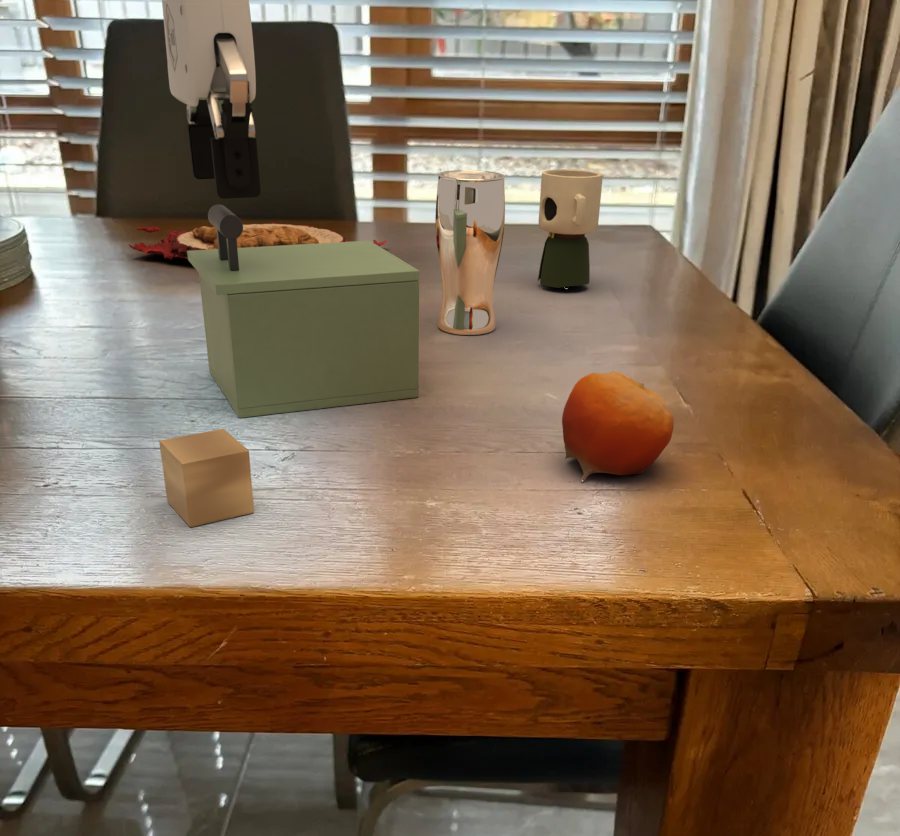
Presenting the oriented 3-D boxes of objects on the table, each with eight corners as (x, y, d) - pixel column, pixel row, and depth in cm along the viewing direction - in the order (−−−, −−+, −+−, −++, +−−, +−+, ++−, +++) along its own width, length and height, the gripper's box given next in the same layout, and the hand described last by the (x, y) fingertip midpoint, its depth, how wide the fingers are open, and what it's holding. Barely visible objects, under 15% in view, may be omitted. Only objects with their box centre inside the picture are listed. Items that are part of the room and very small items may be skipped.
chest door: (216, 295, 74) (209, 225, 71) (188, 260, 84) (181, 197, 81) (419, 280, 79) (420, 215, 77) (370, 249, 89) (369, 190, 87)
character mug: (525, 277, 124) (532, 166, 117) (579, 276, 125) (589, 166, 118) (545, 298, 115) (553, 179, 108) (603, 297, 116) (615, 179, 109)
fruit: (518, 437, 73) (575, 342, 71) (593, 477, 77) (650, 388, 75) (566, 479, 66) (631, 375, 64) (645, 520, 71) (709, 424, 68)
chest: (238, 418, 79) (227, 295, 74) (209, 371, 89) (197, 260, 84) (418, 397, 84) (419, 281, 79) (372, 355, 94) (370, 250, 89)
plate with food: (295, 285, 118) (294, 256, 117) (129, 255, 127) (126, 227, 126) (389, 253, 137) (390, 227, 135) (238, 229, 146) (237, 204, 144)
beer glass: (462, 340, 99) (467, 181, 92) (420, 325, 104) (421, 172, 96) (513, 329, 103) (521, 176, 95) (470, 315, 108) (475, 167, 100)
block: (190, 527, 62) (181, 463, 60) (167, 502, 65) (158, 440, 63) (254, 512, 64) (249, 450, 62) (229, 488, 67) (223, 428, 65)
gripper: (127, -75, 73) (159, 173, 82) (162, -92, 59) (196, 208, 68) (228, -71, 75) (248, 169, 84) (283, -86, 62) (301, 203, 71)
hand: (225, 187), depth 76 cm, fingers open, 9 cm apart
